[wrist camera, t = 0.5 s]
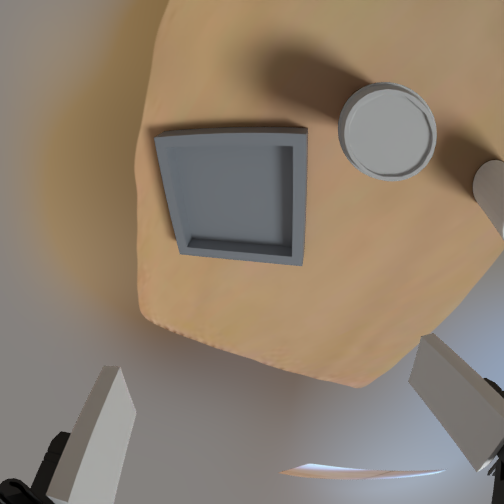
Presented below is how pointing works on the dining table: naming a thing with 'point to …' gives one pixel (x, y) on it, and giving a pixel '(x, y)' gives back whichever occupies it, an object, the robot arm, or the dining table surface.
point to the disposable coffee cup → (387, 131)
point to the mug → (491, 192)
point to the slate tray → (237, 191)
